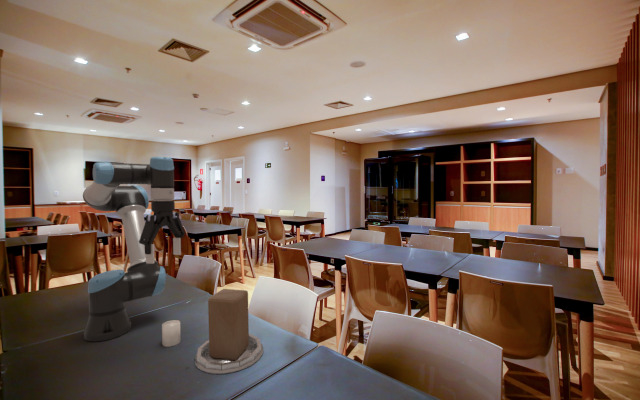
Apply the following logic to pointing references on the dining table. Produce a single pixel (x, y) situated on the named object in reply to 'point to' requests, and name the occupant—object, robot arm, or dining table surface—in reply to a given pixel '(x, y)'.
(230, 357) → the block
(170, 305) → the dining table surface
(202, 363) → the metallic bowl
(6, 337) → the dining table surface
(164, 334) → the white domed cylinder
